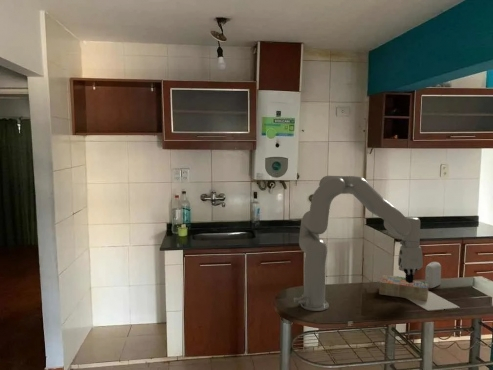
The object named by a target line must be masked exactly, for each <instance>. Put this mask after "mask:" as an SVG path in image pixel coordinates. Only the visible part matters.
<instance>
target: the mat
mask: <svg viewBox="0 0 493 370" xmlns="http://www.w3.org/2000/svg"><path fill="white" fill-rule="evenodd" d="M406 300H409V301H410V302H412V303H414V304H416V305H417V306H419V307H420V308H422V309H424V310H425V311H427V312H432V311H433V312H434V311H444V309H445V310H453V309H460V308H461V307H460V306H458V305H457V304H455V303H453V302H451V301H448V300H447V299H445V298H444V297H441V296H439V295H437V294H436V293H434V292H432V291H429V290H428V298H427V301H423V300H415V299H409V298H406Z"/></svg>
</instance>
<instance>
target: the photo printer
mask: <svg viewBox="0 0 493 370" xmlns="http://www.w3.org/2000/svg"><path fill="white" fill-rule="evenodd" d="M424 276H425V278H424V279H425V280H424V282H425V283H428V289H432V288H435V287H439V286H440V285H441V282H442V278H441V277H442V265H441V263H440V262H438V261H432V262H429V263H428V264H427V265H426V266H425V274H424Z"/></svg>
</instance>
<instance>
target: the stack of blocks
mask: <svg viewBox="0 0 493 370" xmlns="http://www.w3.org/2000/svg"><path fill="white" fill-rule="evenodd" d="M405 278H406V277H403V276H398V275H397V276H396V275H389V274H382V276H381V278H380V280H379V283H378V284H379V288H378V289H379V290H378V294H379V295H382V296H383V295H384V296H388V297H389V296H390V297H398V298H404V299H407V298H409V299H415V300H423V301H427V298H428V291H429V288H428V283H425V281H419V280H413V283H408V282H406V279H405Z"/></svg>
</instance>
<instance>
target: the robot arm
mask: <svg viewBox="0 0 493 370" xmlns="http://www.w3.org/2000/svg"><path fill="white" fill-rule="evenodd" d="M318 183H319V184H318V187H317V188H316V190H315V191H314V192H313V194H312V197H311V200H310V202H311V203H310V206H309V207H310V208H309V210H308V211H306V212H305V213H304V214H303V216H302V218H301V221H300V227H299V237H298V245H299V248H300V250H301V251H302V252H303V253H304V255H305V256H304V263H303V294H301V296H299V297H293V303H298V304H300V307H301V308H302V309H304V310H308V311H312V312H322V311H325V310H328V308H329V306H330V305H329V302H327V300H326V261H327V254H328V247H327V244H326V243H325V241H324V240H323V239H322V238H320V235H323V234H324V233H325V232H326V231H327V229H328V225H329V215H330V210H331V209H330V208H331V204H332V202H333V200H334V199H335V198H336V197H337V196H339V195H341V194H343V195H345V194H347V195H348V194H350V195H353V196H354V197H355V198H356V199H357V200H358V201H359V202H360V203H361V204H362V205H363V206H364V207H365V208H366V209H367V211H369V213H372V214H373V215H375V216H376V217H378V218H380V219H382V220H383V226H384V228H385V230H387V231H388V232H390V233H393V234H395V235H397V236H400V237H401V241H399V245H401V246H400V247H399V251H398V258H397V259H398V260H397V261H398V263H397V265H398V270H399V271H402V272H404V274H405V277H404V278H405V279H406V282H408V283H413V281H414V275H415V274H416V272H417V271H419V270H421V268H423V264H424V262H423V261H424V260H423V258H424V257H423V250H422V247H421V246H420V242H421V241H420V239H421V220H420V218H419V217H416V216H405V215H404V214H403V213H402V212H401V211H400V210H399V209H398V208H397V207H395V206H394V205H392V204H391V203H390V202H389V201H388V200H386V199H385V198H384V197H383V196H382V195H380V193H379V192H378V191H377V190H376V189H375V188H374V187H373V186H372V185H371V184H370V183H369V182H368V181H367V180H366V179H365V178H363V177H361V176H355V175H349V176H348V175H325V176H323V177H321V179H320V180H319V182H318Z"/></svg>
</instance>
